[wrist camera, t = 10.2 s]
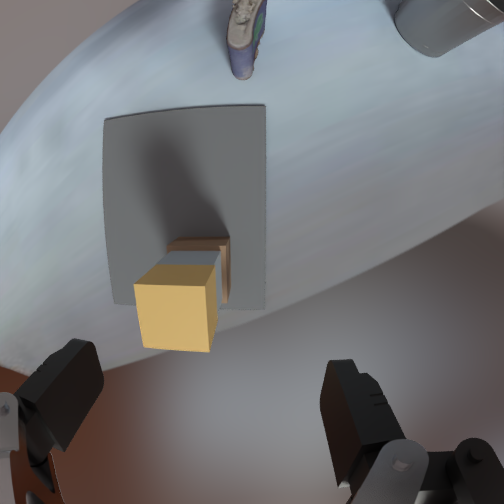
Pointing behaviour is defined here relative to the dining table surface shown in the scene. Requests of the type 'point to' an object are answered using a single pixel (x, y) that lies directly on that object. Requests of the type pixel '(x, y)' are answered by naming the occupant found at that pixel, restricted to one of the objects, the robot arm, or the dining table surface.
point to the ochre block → (177, 307)
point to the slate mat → (186, 193)
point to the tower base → (209, 245)
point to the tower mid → (198, 259)
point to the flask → (245, 35)
